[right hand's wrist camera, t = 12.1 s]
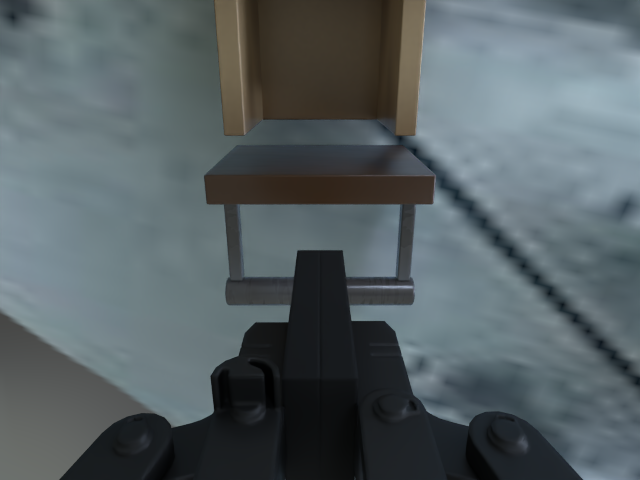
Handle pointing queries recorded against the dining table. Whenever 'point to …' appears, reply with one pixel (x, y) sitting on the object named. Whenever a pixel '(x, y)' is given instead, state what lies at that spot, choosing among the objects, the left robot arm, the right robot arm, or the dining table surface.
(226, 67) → the drawer
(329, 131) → the dining table surface
